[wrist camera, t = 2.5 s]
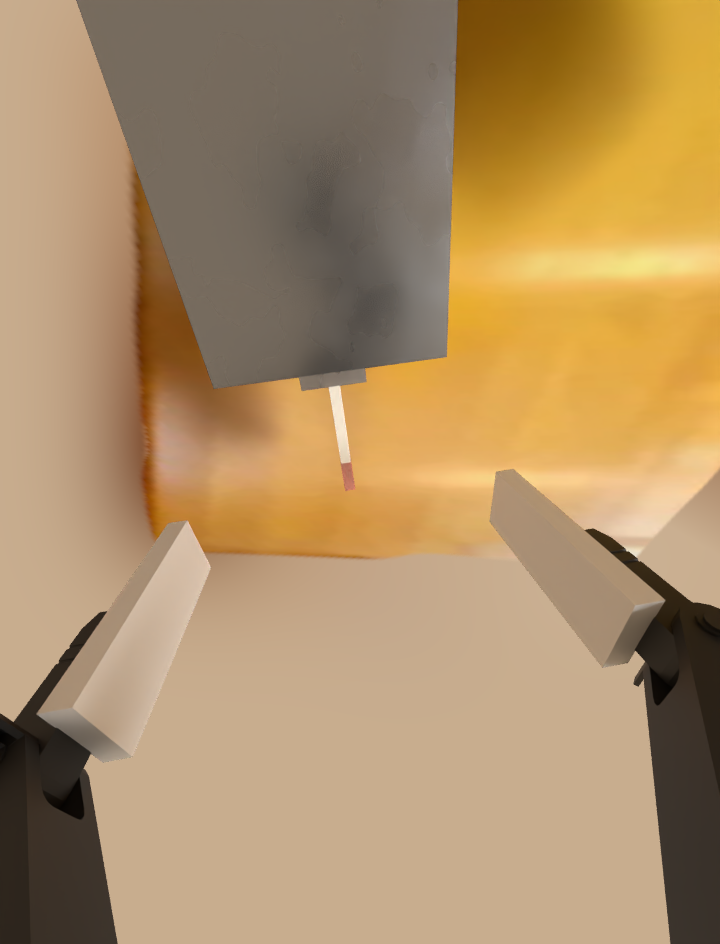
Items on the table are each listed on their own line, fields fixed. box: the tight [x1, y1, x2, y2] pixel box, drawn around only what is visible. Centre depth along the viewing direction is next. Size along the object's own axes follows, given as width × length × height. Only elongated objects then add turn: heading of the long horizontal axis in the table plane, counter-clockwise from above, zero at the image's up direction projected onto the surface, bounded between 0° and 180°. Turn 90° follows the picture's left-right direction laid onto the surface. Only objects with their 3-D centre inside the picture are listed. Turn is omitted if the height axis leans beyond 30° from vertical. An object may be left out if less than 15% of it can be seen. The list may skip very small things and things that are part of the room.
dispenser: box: [76, 0, 458, 391], centre depth 17 cm, size 13×10×16 cm
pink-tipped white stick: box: [329, 386, 355, 491], centre depth 18 cm, size 18×1×6 cm, turn 6°
